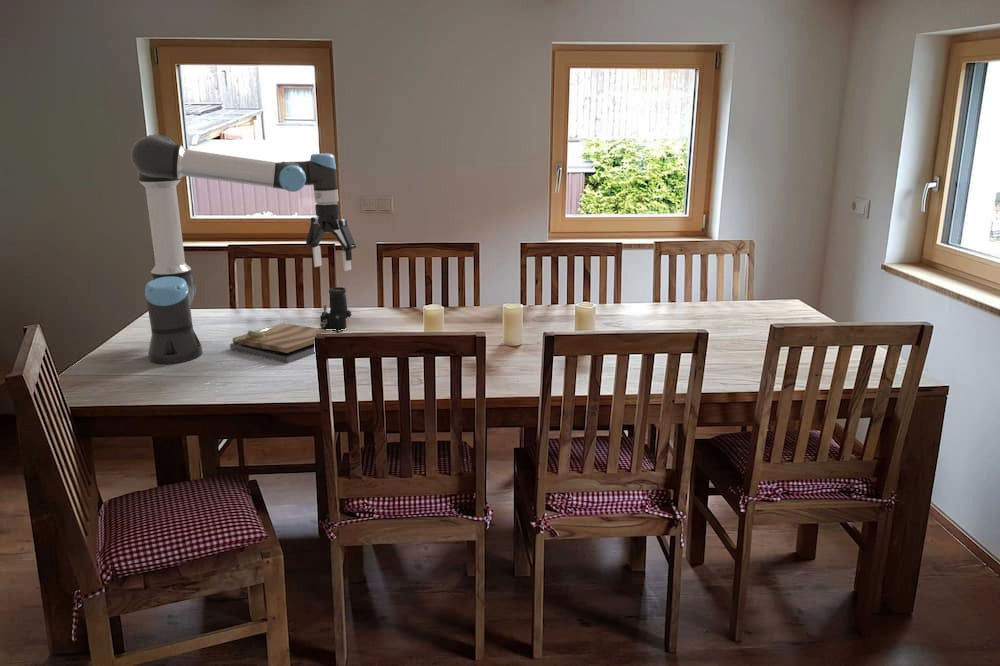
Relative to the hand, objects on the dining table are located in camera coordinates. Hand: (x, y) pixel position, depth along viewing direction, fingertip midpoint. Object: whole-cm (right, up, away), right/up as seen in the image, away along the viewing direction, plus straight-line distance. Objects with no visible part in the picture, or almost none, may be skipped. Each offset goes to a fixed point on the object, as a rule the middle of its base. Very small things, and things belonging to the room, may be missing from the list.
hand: (332, 268), depth 261 cm
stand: (-12, -25, -11) cm, 30 cm away
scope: (0, -20, +6) cm, 21 cm away
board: (-11, -23, -13) cm, 29 cm away
